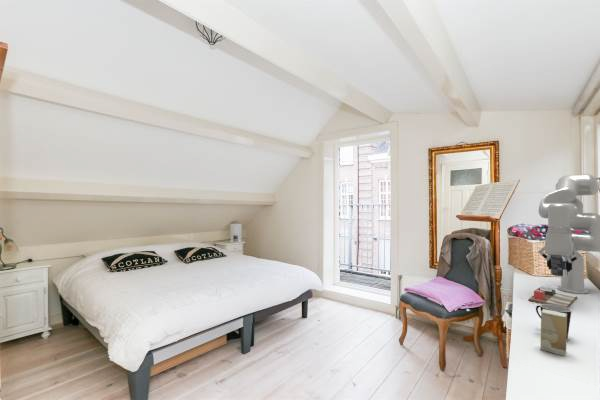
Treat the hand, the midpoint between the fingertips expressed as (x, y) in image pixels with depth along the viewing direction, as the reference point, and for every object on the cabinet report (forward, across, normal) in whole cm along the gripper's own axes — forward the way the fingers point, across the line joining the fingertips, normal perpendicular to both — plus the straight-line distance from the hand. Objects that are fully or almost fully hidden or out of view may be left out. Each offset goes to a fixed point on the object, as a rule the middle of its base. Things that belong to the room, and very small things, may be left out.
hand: (559, 269), depth 142 cm
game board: (+17, +4, -11) cm, 21 cm away
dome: (+16, +8, -17) cm, 25 cm away
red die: (+17, +8, -4) cm, 19 cm away
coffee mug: (+16, -5, +42) cm, 45 cm away
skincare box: (+16, -8, +58) cm, 60 cm away
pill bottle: (+3, 0, 0) cm, 3 cm away
